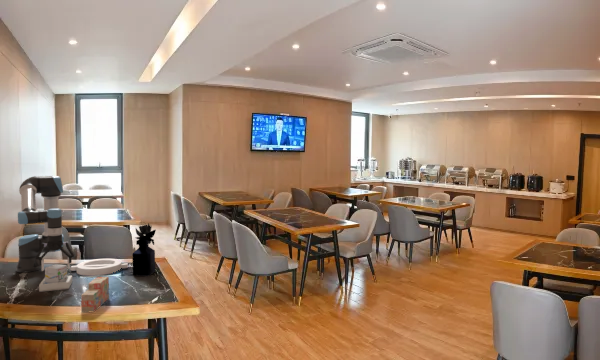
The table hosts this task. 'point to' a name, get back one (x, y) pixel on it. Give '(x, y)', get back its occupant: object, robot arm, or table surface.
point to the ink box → (56, 274)
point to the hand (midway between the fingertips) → (55, 269)
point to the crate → (55, 285)
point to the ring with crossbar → (99, 266)
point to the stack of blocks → (95, 294)
